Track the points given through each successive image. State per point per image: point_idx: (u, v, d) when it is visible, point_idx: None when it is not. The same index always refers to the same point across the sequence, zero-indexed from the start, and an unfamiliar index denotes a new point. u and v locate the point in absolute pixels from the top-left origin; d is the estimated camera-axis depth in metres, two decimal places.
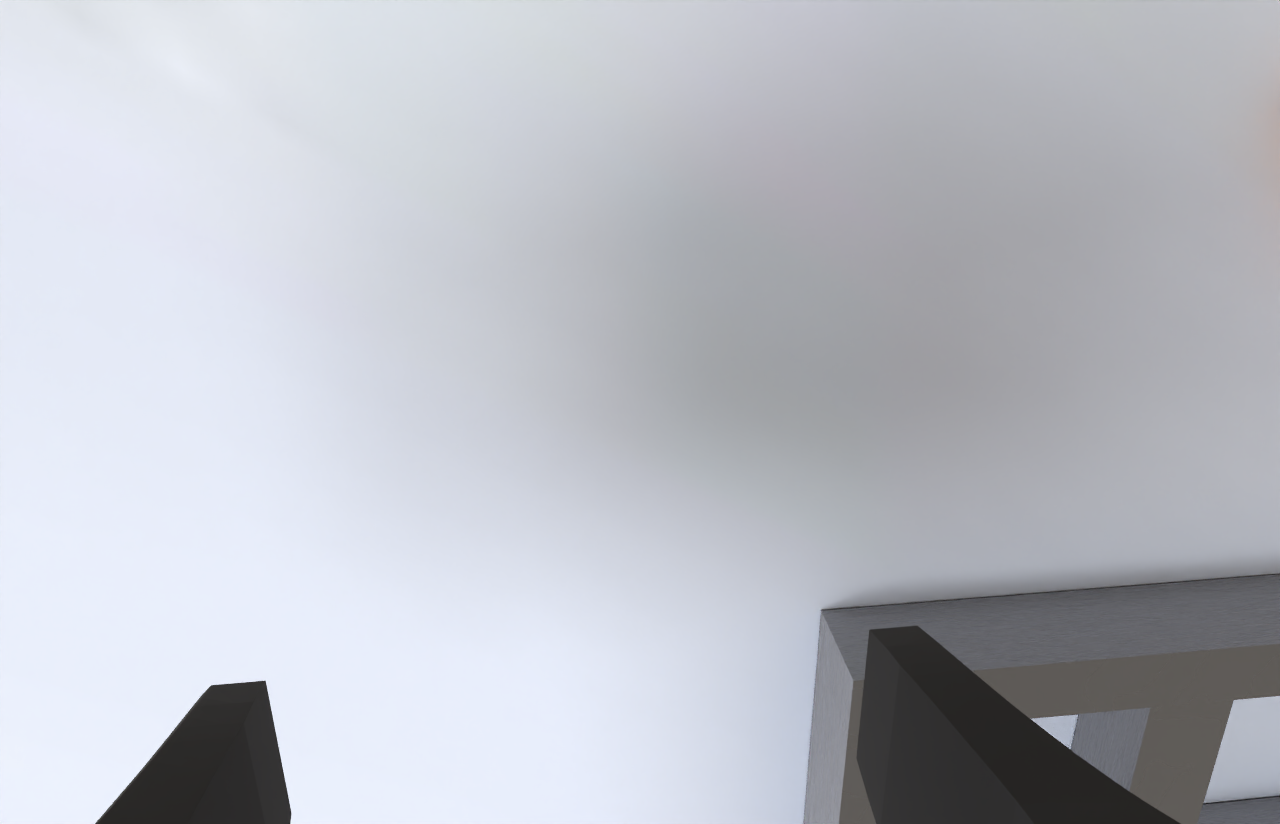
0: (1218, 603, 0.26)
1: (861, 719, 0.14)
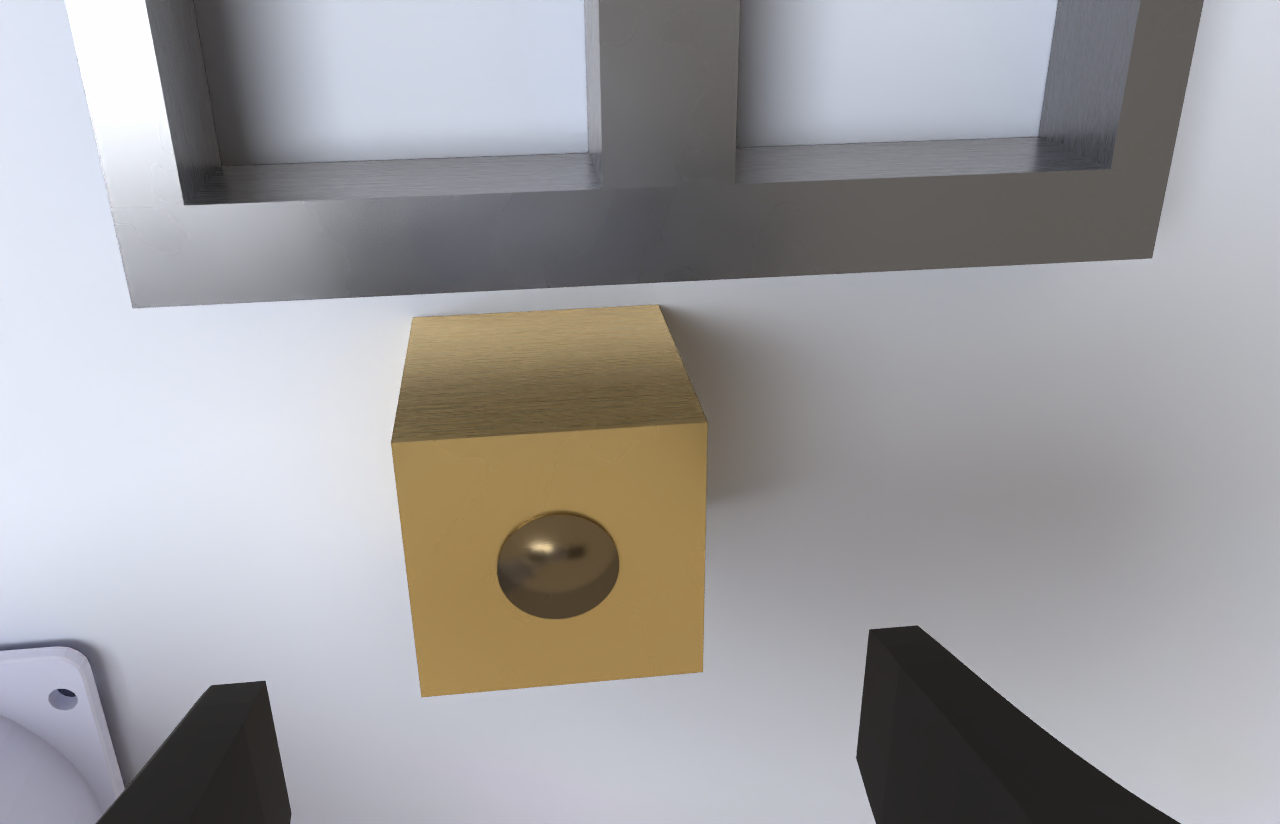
0: None
1: (861, 719, 0.14)
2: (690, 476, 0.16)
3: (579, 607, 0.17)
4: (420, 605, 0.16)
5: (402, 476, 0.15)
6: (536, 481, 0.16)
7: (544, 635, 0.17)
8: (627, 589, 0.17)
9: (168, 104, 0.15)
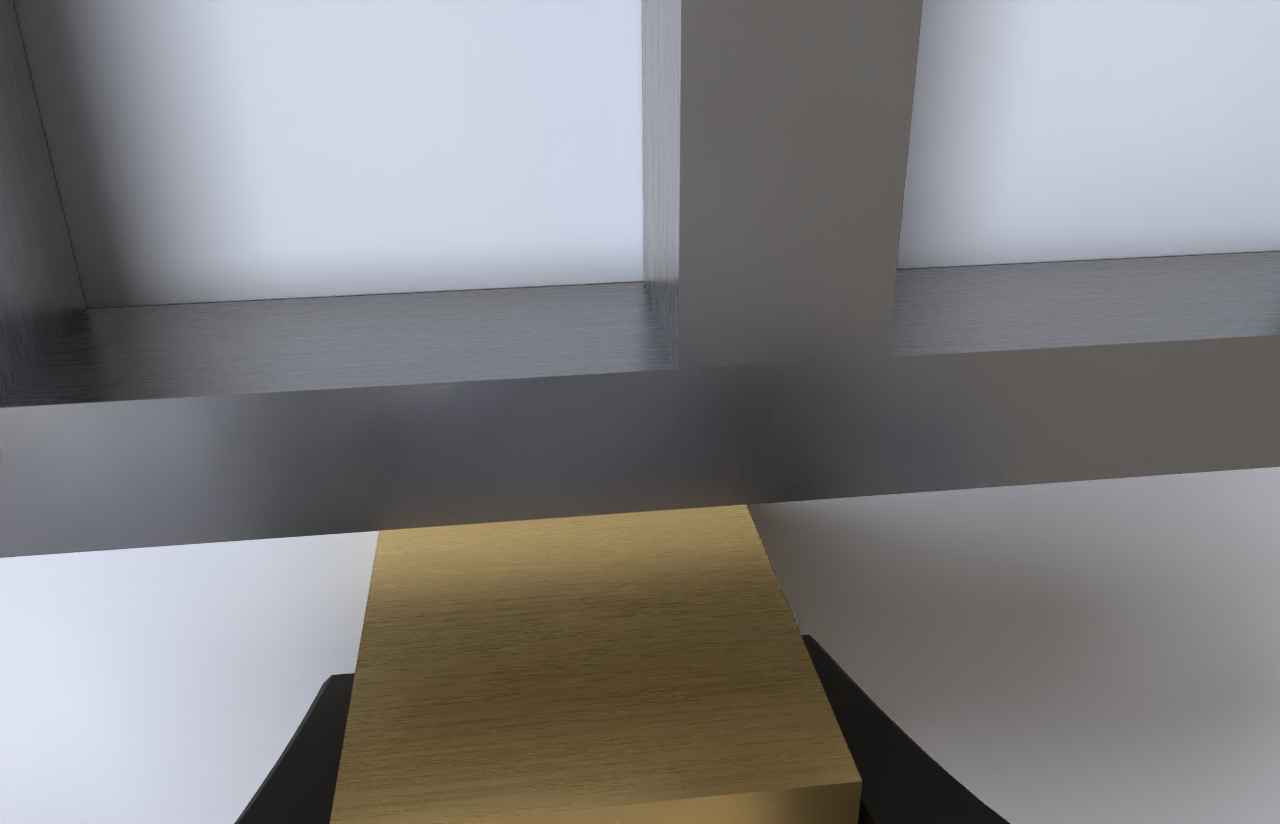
0: None
1: None
2: None
3: None
4: None
5: None
6: None
7: None
8: None
9: None
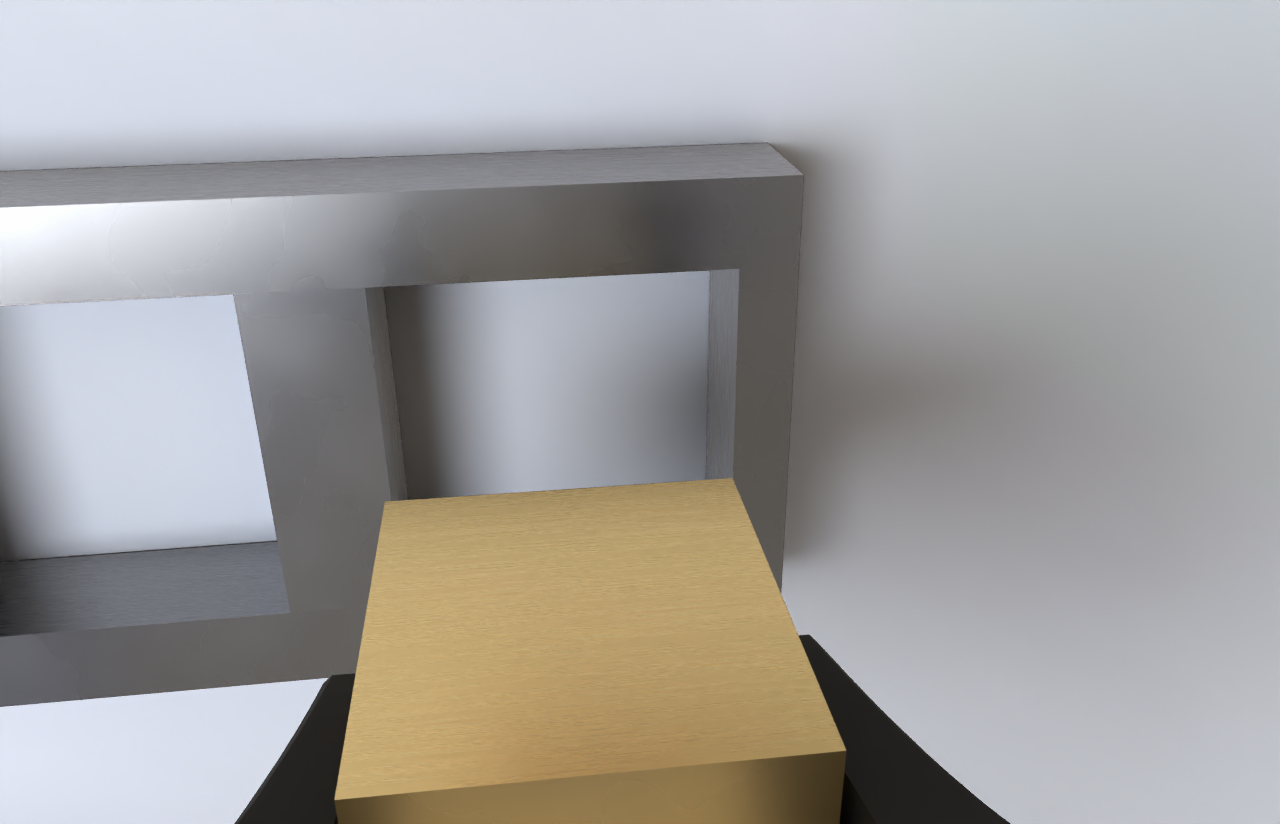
0: (380, 169, 0.18)
1: None
2: None
3: None
4: None
5: None
6: None
7: None
8: None
9: None
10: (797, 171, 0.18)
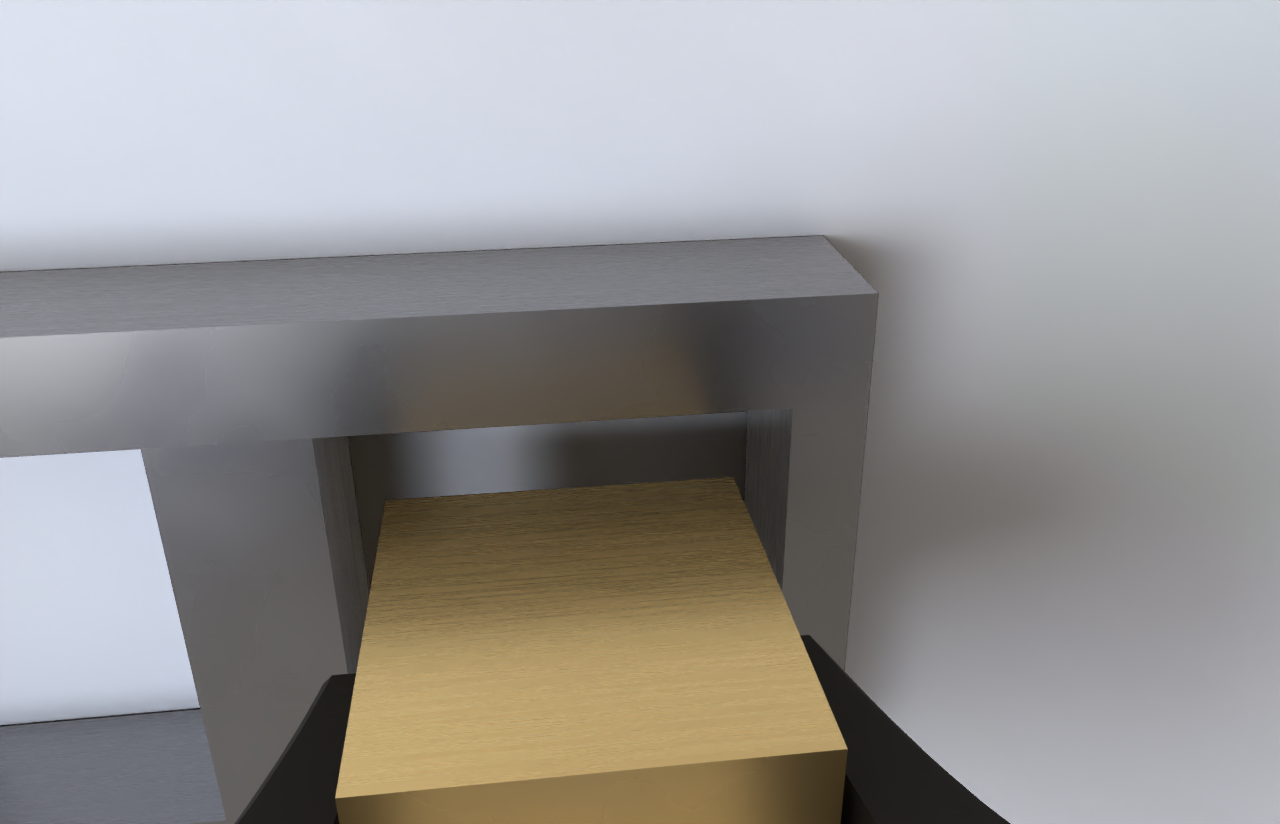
0: (335, 278, 0.14)
1: None
2: (815, 823, 0.10)
3: None
4: None
5: None
6: None
7: None
8: None
9: None
10: (869, 286, 0.14)
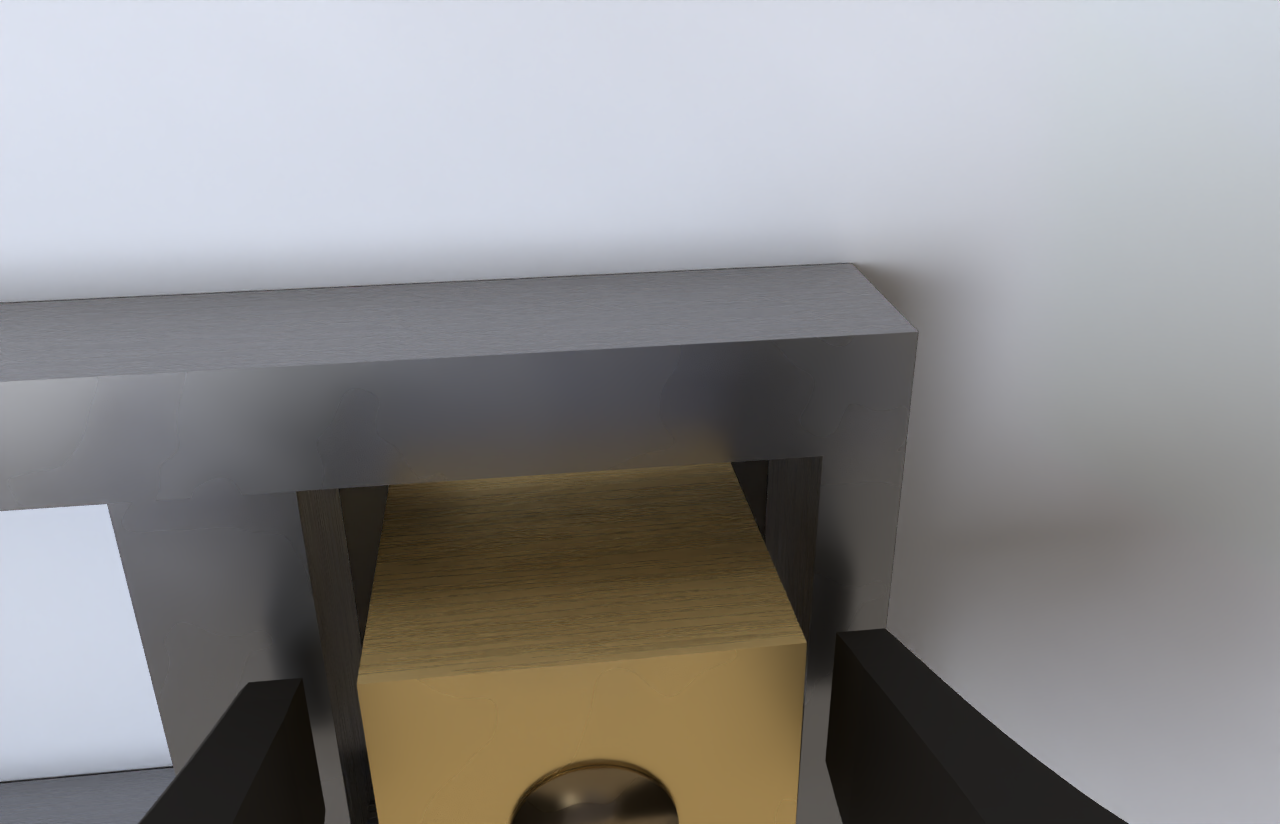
0: (322, 313, 0.13)
1: (830, 722, 0.14)
2: (780, 712, 0.11)
3: None
4: None
5: (374, 727, 0.11)
6: (563, 726, 0.11)
7: None
8: None
9: None
10: (907, 323, 0.12)
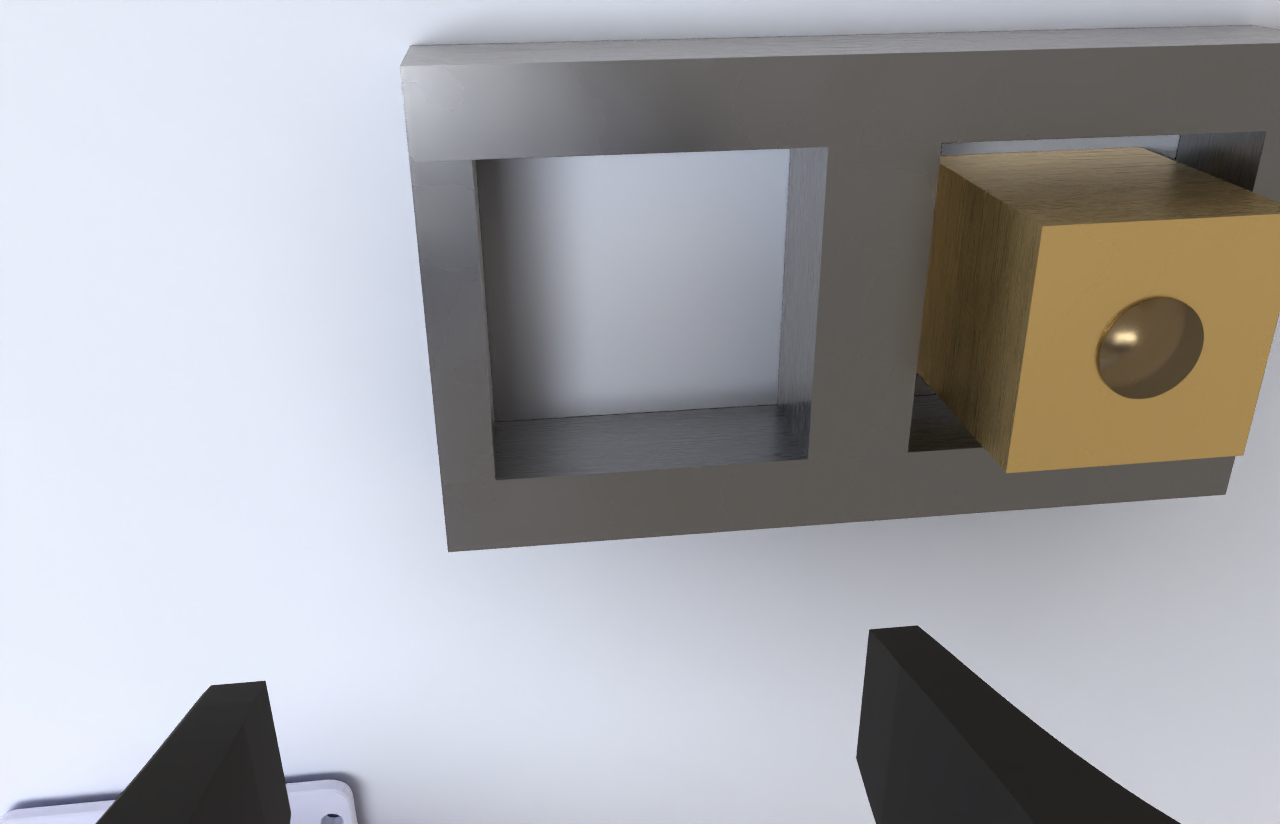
0: (933, 39, 0.20)
1: (861, 719, 0.14)
2: (1278, 264, 0.18)
3: (1156, 389, 0.19)
4: (1027, 383, 0.18)
5: (1044, 258, 0.17)
6: (1150, 266, 0.18)
7: (1121, 416, 0.19)
8: (1200, 373, 0.19)
9: None
10: None
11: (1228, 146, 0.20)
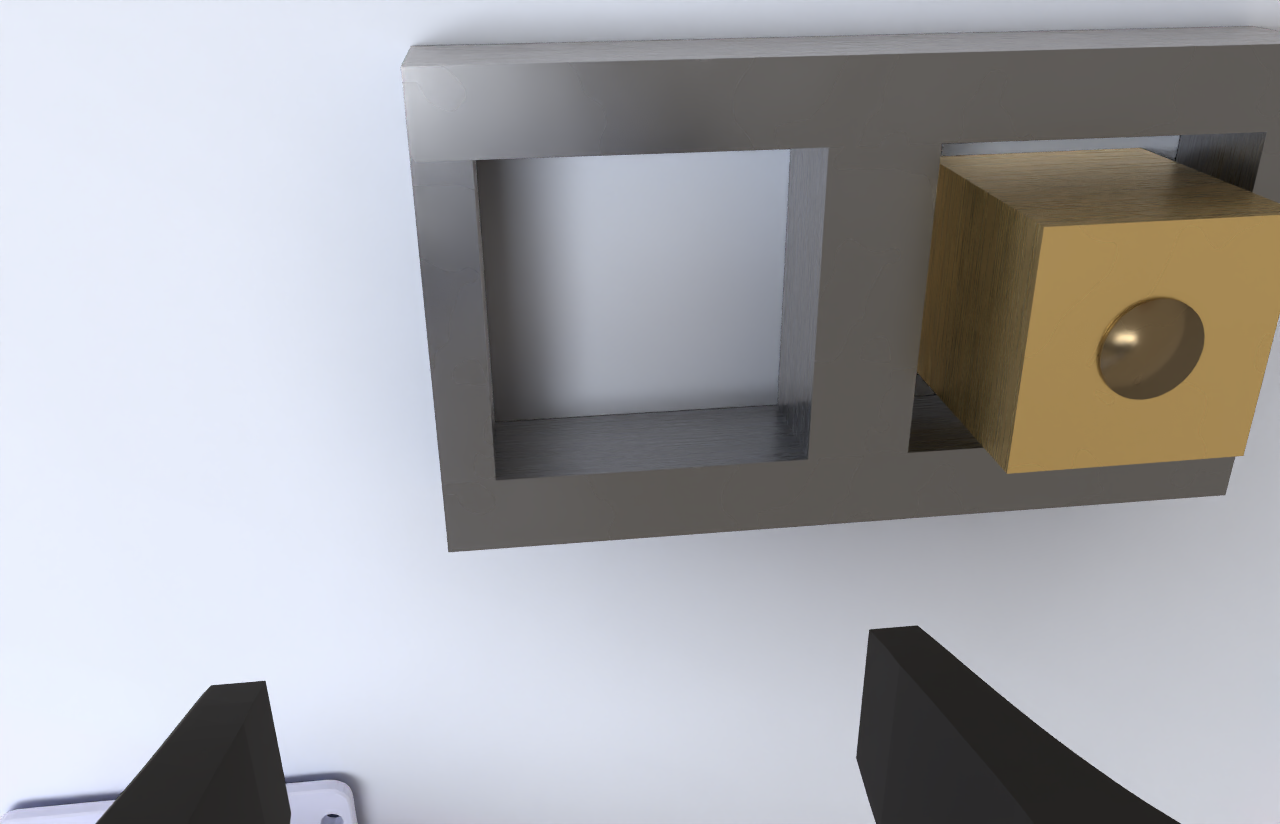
0: (933, 40, 0.20)
1: (861, 719, 0.14)
2: (1278, 265, 0.18)
3: (1156, 390, 0.19)
4: (1028, 384, 0.18)
5: (1046, 258, 0.17)
6: (1151, 267, 0.18)
7: (1122, 417, 0.19)
8: (1200, 373, 0.19)
9: None
10: None
11: (1228, 147, 0.21)
